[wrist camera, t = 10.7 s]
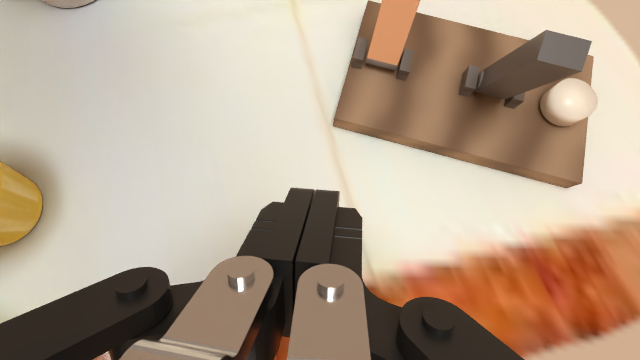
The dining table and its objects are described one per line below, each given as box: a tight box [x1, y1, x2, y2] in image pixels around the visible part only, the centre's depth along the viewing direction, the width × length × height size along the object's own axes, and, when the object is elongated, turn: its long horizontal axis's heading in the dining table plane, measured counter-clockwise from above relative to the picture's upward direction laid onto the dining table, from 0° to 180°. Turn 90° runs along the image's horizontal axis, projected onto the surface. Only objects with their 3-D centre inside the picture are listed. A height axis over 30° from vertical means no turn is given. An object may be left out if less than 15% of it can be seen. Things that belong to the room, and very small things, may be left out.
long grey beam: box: [474, 30, 592, 99], centre depth 28 cm, size 3×2×12 cm, turn 74°
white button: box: [540, 78, 597, 127], centre depth 33 cm, size 4×4×2 cm
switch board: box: [333, 1, 593, 188], centre depth 35 cm, size 24×14×4 cm, turn 75°
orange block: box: [366, 0, 420, 71], centre depth 30 cm, size 3×2×12 cm, turn 74°
